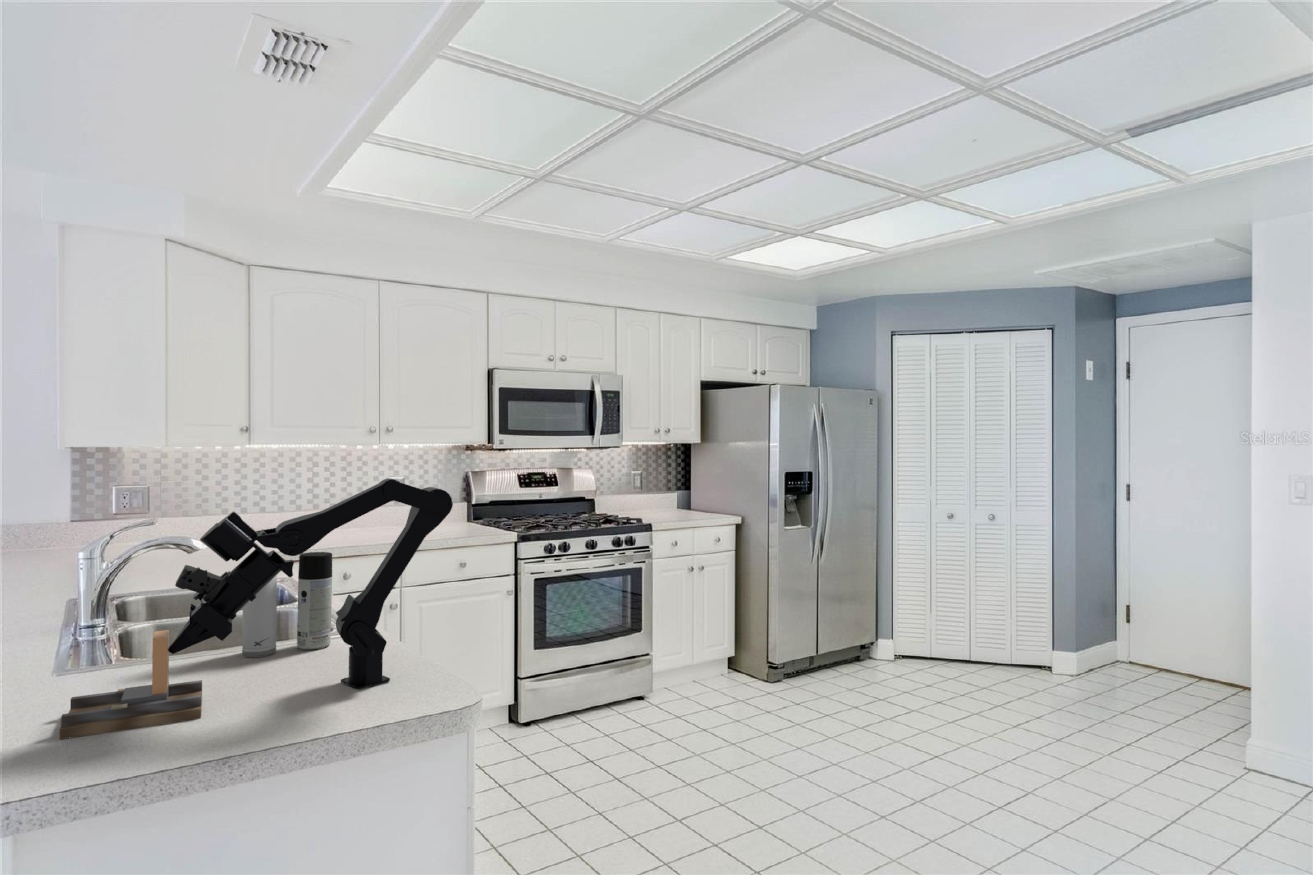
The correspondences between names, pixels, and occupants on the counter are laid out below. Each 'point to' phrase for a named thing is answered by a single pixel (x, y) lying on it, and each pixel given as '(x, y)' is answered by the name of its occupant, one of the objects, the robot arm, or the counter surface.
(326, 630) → the spray can
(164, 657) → the fader tab
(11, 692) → the counter surface
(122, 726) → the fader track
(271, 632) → the travel mug
